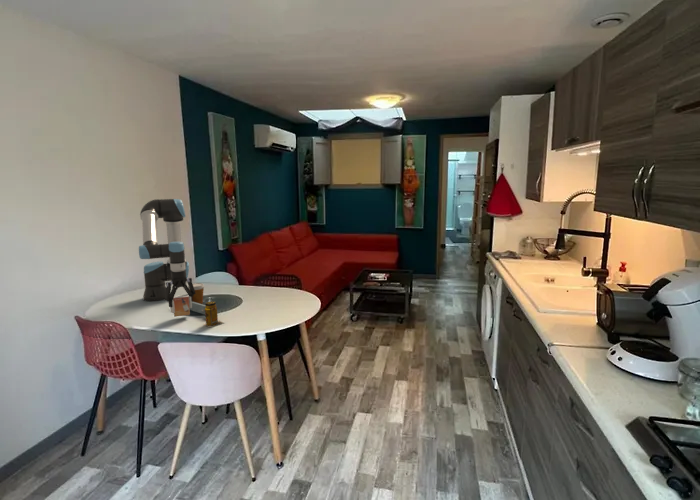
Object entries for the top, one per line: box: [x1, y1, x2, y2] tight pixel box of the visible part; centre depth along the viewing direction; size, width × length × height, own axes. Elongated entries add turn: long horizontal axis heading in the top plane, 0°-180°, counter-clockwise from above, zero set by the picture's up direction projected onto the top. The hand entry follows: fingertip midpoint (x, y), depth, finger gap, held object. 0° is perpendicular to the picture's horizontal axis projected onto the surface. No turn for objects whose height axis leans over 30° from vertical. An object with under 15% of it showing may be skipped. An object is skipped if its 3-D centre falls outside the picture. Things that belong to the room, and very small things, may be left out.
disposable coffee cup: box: [187, 282, 205, 304], centre depth 237 cm, size 10×10×12 cm
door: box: [190, 302, 206, 315], centre depth 220 cm, size 21×2×6 cm, turn 55°
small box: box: [172, 293, 191, 317], centre depth 210 cm, size 8×6×10 cm
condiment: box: [202, 301, 224, 328], centre depth 202 cm, size 7×8×12 cm
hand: (181, 309), depth 211 cm, fingers closed on small box, 9 cm apart
